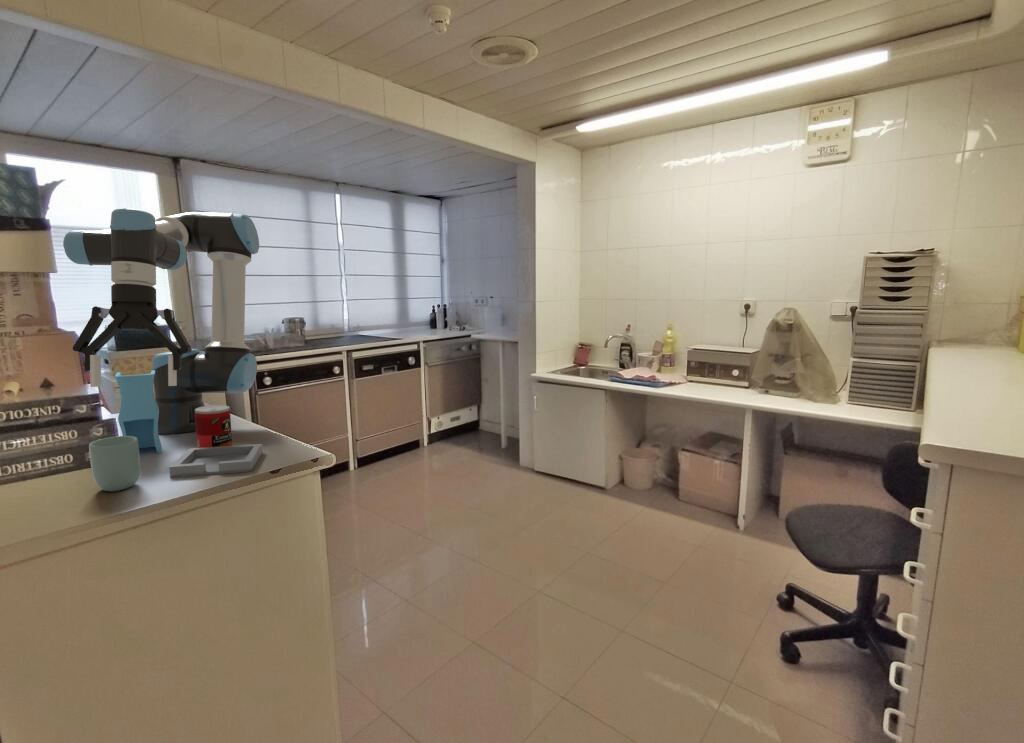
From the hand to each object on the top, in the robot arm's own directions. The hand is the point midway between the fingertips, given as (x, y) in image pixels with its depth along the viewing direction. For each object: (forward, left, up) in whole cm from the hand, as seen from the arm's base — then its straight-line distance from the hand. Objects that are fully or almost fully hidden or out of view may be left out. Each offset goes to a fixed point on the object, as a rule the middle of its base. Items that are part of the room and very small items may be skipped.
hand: (134, 386), depth 104 cm
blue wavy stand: (-23, -8, -21) cm, 32 cm away
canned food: (-20, +9, -21) cm, 30 cm away
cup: (+4, -3, -21) cm, 21 cm away
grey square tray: (-7, +13, -20) cm, 25 cm away
